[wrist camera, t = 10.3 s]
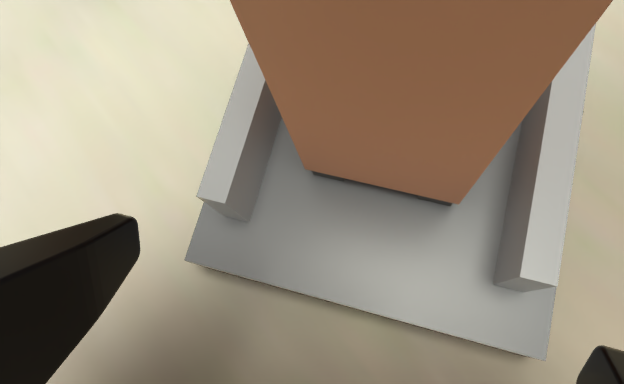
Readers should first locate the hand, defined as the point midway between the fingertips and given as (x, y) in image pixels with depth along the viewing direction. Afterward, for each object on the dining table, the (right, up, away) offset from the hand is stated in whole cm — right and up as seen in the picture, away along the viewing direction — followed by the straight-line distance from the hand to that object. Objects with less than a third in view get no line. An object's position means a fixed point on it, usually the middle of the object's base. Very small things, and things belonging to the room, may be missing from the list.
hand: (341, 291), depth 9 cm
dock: (+3, +3, +11) cm, 12 cm away
